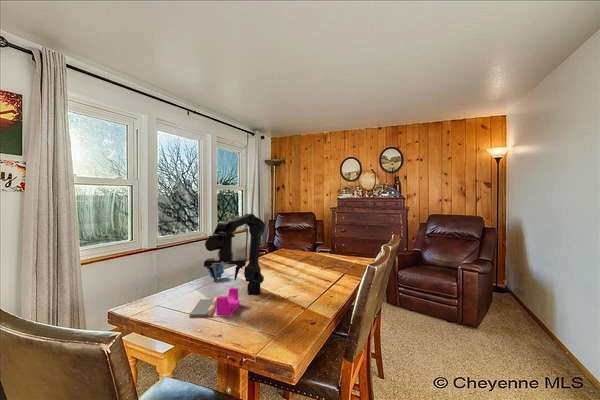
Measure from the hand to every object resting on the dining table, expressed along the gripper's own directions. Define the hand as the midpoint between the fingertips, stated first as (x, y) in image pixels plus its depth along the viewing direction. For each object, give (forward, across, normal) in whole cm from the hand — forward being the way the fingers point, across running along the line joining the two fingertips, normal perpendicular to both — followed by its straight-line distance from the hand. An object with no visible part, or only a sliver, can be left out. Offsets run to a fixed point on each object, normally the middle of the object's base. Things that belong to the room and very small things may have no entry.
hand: (225, 280), depth 133 cm
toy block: (+13, -3, +2) cm, 13 cm away
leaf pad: (+13, 0, +1) cm, 13 cm away
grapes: (+13, +12, -45) cm, 49 cm away
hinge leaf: (+13, +9, +1) cm, 16 cm away
